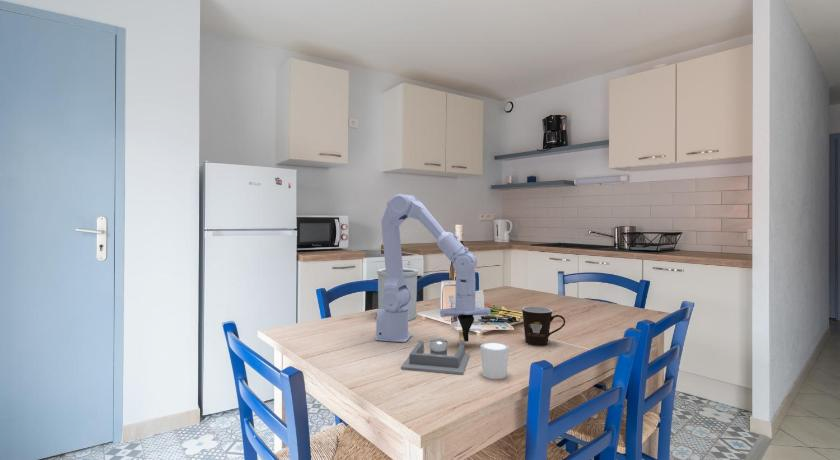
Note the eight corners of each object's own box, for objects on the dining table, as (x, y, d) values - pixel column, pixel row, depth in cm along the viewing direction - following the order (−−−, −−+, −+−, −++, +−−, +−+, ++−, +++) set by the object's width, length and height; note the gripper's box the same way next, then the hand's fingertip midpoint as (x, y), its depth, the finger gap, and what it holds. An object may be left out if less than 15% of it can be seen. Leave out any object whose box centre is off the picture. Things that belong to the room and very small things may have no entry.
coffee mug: (516, 342, 130) (516, 309, 129) (530, 336, 136) (531, 305, 136) (552, 351, 122) (553, 316, 121) (566, 344, 128) (567, 311, 128)
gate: (464, 354, 118) (464, 341, 118) (460, 354, 119) (460, 341, 118) (462, 340, 131) (462, 329, 131) (458, 340, 131) (458, 328, 131)
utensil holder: (394, 310, 171) (394, 266, 170) (425, 316, 162) (425, 269, 162) (368, 318, 159) (368, 270, 158) (401, 324, 150) (401, 273, 150)
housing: (400, 369, 108) (400, 357, 108) (414, 351, 121) (414, 340, 121) (462, 374, 104) (463, 362, 104) (469, 356, 118) (469, 345, 118)
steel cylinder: (428, 361, 113) (428, 342, 113) (432, 356, 117) (432, 337, 117) (445, 363, 112) (445, 344, 112) (448, 357, 116) (448, 339, 116)
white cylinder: (491, 382, 100) (491, 352, 99) (474, 372, 106) (474, 343, 106) (515, 377, 103) (515, 347, 103) (497, 367, 109) (497, 340, 109)
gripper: (443, 297, 121) (443, 345, 122) (493, 295, 123) (493, 343, 124) (438, 292, 128) (438, 338, 129) (486, 291, 130) (486, 336, 131)
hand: (465, 340), depth 127 cm, fingers closed, pressing on gate
